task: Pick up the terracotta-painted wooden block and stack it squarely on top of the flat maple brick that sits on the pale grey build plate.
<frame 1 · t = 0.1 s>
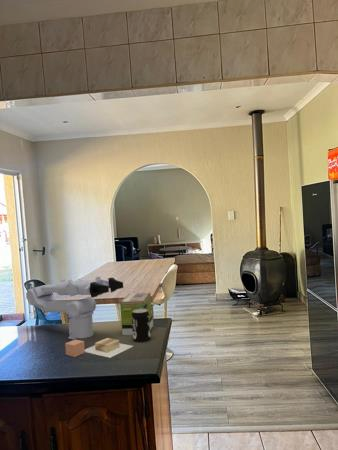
hand: (115, 287, 136), 22 cm above the countertop, tool horizontal, fingers open, 7 cm apart
build plate: (107, 351, 130), on the countertop
tea box: (138, 332, 151), on the countertop
top brick: (75, 356, 127), on the countertop
beverage can: (142, 342, 138), on the countertop
bottom brick: (107, 348, 130), point 1 cm above the countertop, touching build plate
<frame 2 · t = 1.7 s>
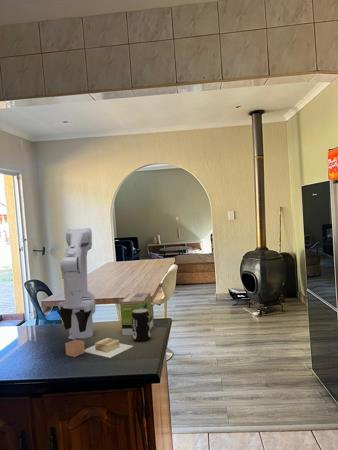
hand: (75, 330, 127), 9 cm above the countertop, tool pointing down, fingers open, 7 cm apart
nothing on the countertop moved.
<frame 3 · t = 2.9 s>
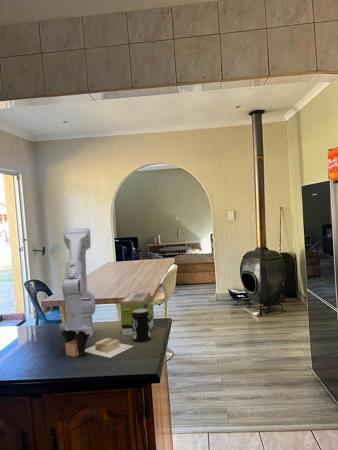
hand: (76, 351, 128), 1 cm above the countertop, tool pointing down, fingers closed on top brick, 4 cm apart
top brick: (75, 356, 127), on the countertop, touching gripper
everything else where it was.
when the fingers open (6 cm above the countertop, at t = 5.7 s): top brick stays where it is, resting on bottom brick.
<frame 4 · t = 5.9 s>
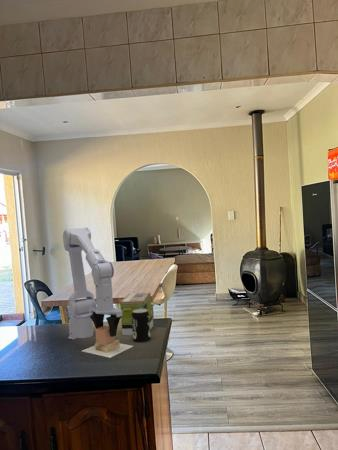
hand: (106, 334, 130), 6 cm above the countertop, tool pointing down, fingers open, 6 cm apart
top brick: (105, 342, 129), point 3 cm above the countertop, touching bottom brick
bottom brick: (107, 348, 130), point 1 cm above the countertop, touching build plate, top brick
everything else where it was.
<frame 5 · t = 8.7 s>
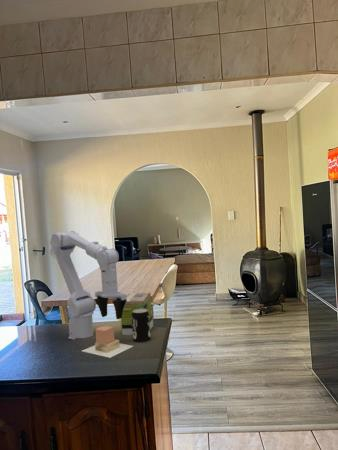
hand: (111, 317, 138), 10 cm above the countertop, tool pointing down, fingers open, 7 cm apart
nothing on the countertop moved.
at the end: top brick 0.8 cm off-centre on the bottom brick, point 2.5 cm above the bottom brick's base; top brick tilted 0°; top brick touching bottom brick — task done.
